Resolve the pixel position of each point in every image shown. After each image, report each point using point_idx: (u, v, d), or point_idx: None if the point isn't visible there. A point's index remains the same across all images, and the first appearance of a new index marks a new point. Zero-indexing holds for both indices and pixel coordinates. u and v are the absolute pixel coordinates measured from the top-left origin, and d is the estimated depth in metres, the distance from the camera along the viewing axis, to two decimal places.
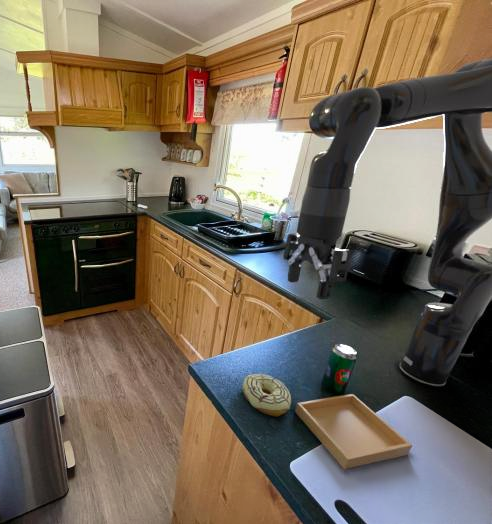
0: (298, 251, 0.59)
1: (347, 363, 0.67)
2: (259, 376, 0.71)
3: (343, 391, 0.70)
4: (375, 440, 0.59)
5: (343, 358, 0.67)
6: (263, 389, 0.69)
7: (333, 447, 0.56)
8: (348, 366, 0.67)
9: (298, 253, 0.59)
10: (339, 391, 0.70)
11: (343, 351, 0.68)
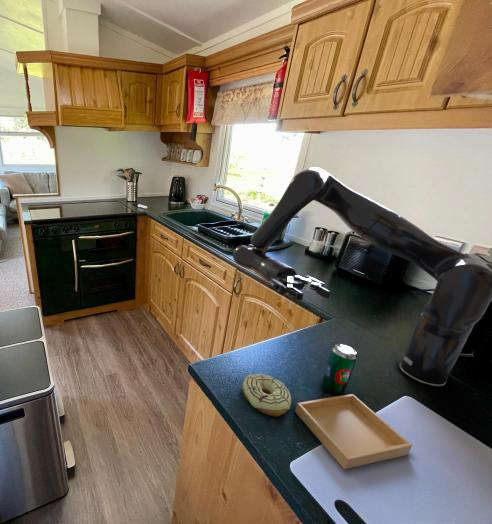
0: None
1: (347, 363, 0.67)
2: (259, 376, 0.71)
3: (343, 391, 0.70)
4: (375, 440, 0.59)
5: (343, 358, 0.67)
6: (263, 389, 0.69)
7: (333, 447, 0.56)
8: (348, 366, 0.67)
9: None
10: (339, 391, 0.70)
11: (343, 351, 0.68)
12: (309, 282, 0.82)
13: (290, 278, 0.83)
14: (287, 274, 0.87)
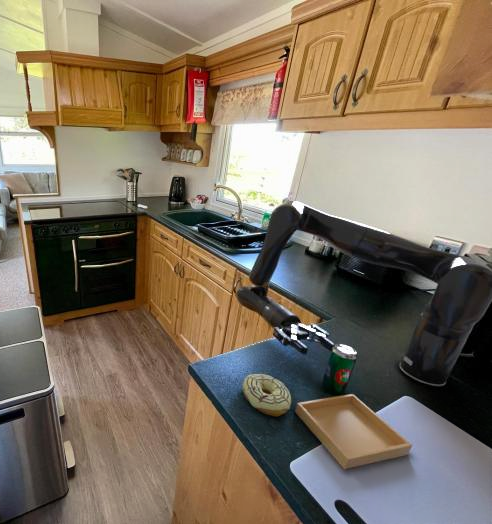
0: None
1: (347, 363, 0.67)
2: (259, 376, 0.71)
3: (343, 391, 0.70)
4: (375, 440, 0.59)
5: (343, 358, 0.67)
6: (263, 389, 0.69)
7: (333, 447, 0.56)
8: (347, 366, 0.67)
9: None
10: (339, 391, 0.70)
11: (343, 351, 0.68)
12: (313, 332, 0.82)
13: (294, 328, 0.83)
14: (291, 322, 0.86)
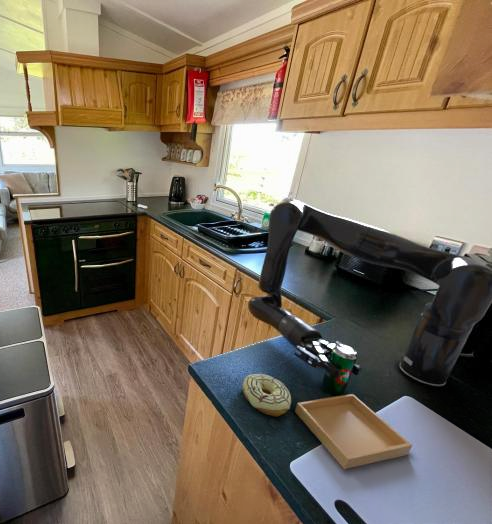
0: None
1: (347, 363, 0.67)
2: (259, 376, 0.71)
3: (343, 391, 0.70)
4: (375, 440, 0.59)
5: (343, 358, 0.67)
6: (263, 389, 0.69)
7: (333, 447, 0.56)
8: (347, 366, 0.67)
9: None
10: (339, 391, 0.70)
11: (343, 351, 0.68)
12: None
13: (316, 345, 0.75)
14: (312, 338, 0.79)
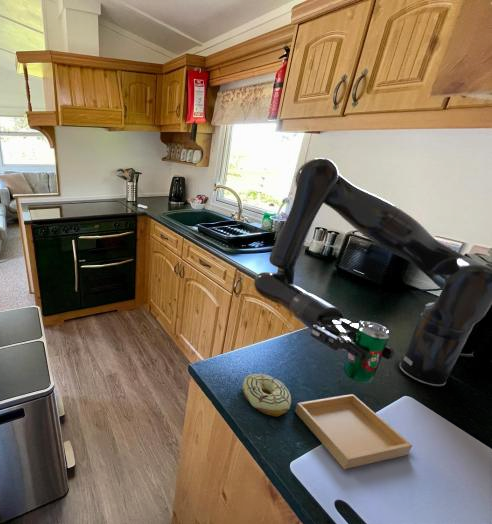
0: None
1: (377, 343, 0.55)
2: (259, 376, 0.71)
3: (371, 378, 0.58)
4: (375, 440, 0.59)
5: (372, 338, 0.55)
6: (263, 389, 0.69)
7: (333, 447, 0.56)
8: (378, 347, 0.55)
9: None
10: (365, 379, 0.58)
11: (372, 329, 0.55)
12: None
13: (337, 324, 0.63)
14: (331, 317, 0.66)
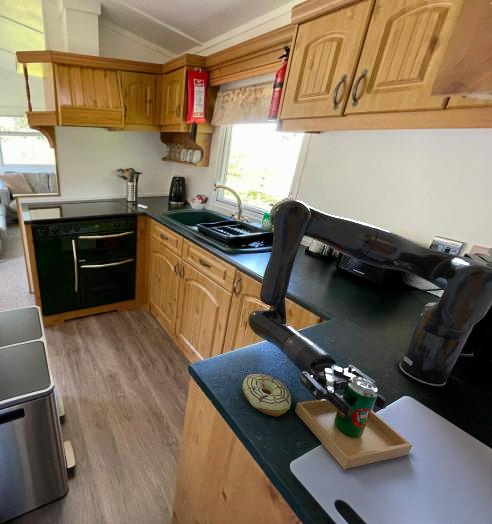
0: None
1: (366, 402, 0.55)
2: (259, 376, 0.71)
3: (360, 433, 0.58)
4: (375, 440, 0.59)
5: (361, 396, 0.56)
6: (263, 389, 0.69)
7: (333, 447, 0.56)
8: (367, 405, 0.56)
9: None
10: (355, 434, 0.58)
11: (361, 387, 0.56)
12: None
13: (329, 374, 0.63)
14: (323, 363, 0.67)
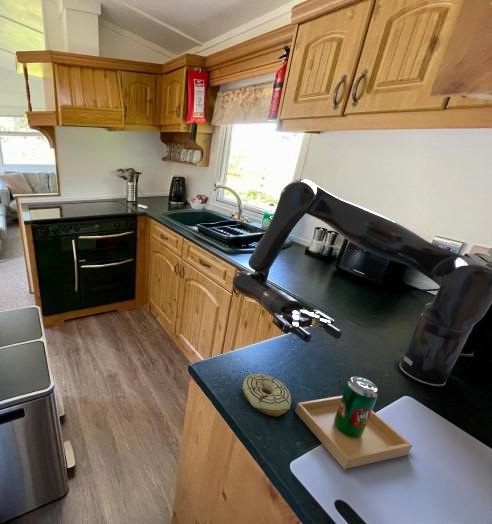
0: None
1: (366, 402, 0.55)
2: (259, 376, 0.71)
3: (360, 433, 0.58)
4: (375, 440, 0.59)
5: (361, 396, 0.56)
6: (263, 389, 0.69)
7: (333, 447, 0.56)
8: (367, 405, 0.56)
9: None
10: (355, 434, 0.58)
11: (361, 387, 0.56)
12: (317, 319, 0.74)
13: (296, 314, 0.75)
14: (292, 308, 0.78)
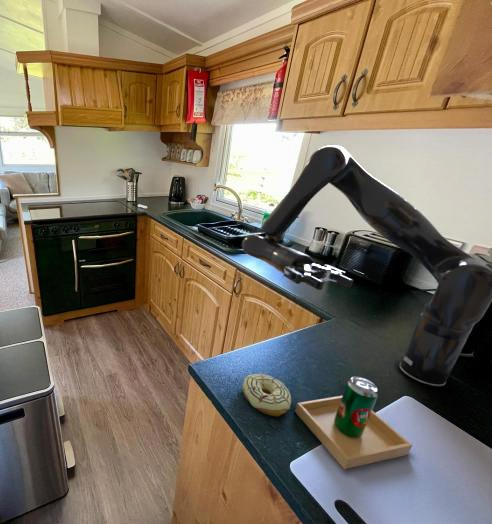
0: None
1: (366, 402, 0.55)
2: (259, 376, 0.71)
3: (360, 433, 0.58)
4: (375, 440, 0.59)
5: (361, 396, 0.56)
6: (263, 389, 0.69)
7: (333, 447, 0.56)
8: (367, 405, 0.56)
9: (319, 279, 0.77)
10: (355, 434, 0.58)
11: (361, 387, 0.56)
12: (328, 271, 0.75)
13: (307, 266, 0.76)
14: (303, 263, 0.79)
